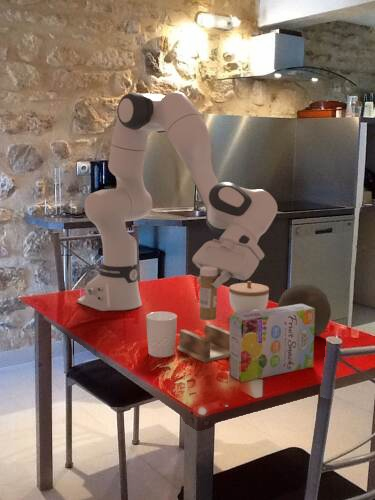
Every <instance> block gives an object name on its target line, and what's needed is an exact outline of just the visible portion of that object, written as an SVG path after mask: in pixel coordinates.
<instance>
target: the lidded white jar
mask: <svg viewBox="0 0 375 500" xmlns="http://www.w3.org/2000/svg"><path fill="white" fill-rule="evenodd" d="M228 291H229V297H228V299H229V304H230V307H231V309H232V311H233V312H234V314H238V313H245V312H251V311H253V310H264V309H267V306H268V303H269V293H270V288H269V286H268V285H264V284H260V283H254V282H252V281H251V280H248V281H247V282H237V283H234V284H233V283H232V284H230V286H229V287H228Z"/></svg>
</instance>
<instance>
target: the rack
mask: <svg viewBox="0 0 375 500" xmlns="http://www.w3.org/2000/svg"><path fill="white" fill-rule="evenodd" d="M204 327H205V328H204V337H203V336H201V335H200V334H199V335H198V334H196V333H193V332H192V331H189V330H187V329H184V328H183V329H180V330H179V345H176V350H178V351H180V352H181V353H184V354H185V355H188V356H190V357H192V358H194V359H196V360H198V361H200V362H201V363H210V362H213V361H216V360H217V361H218V360H222V359H224V358H229V346H230V343H229V341H230V330H229V331H228V330H226V329H224V328H221V327H219V326H216V325H214V324H212V323H208V324H205V325H204Z"/></svg>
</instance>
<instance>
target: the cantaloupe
mask: <svg viewBox="0 0 375 500" xmlns="http://www.w3.org/2000/svg"><path fill="white" fill-rule="evenodd" d="M277 303H278V304H277V307H283V306H290V305H296V304H304V305H307V306H310V307H312V308H315V321H314V338H315V337H318V336H319V335H322V334H323V333H324V332H325V331H326V330H327V329H328V326H329V323H330V320H331V319H330V318H331V316H332V315H331V314H332V311H331V305H330V302H329V300H328V297H327V295H326V294H325V292H323V290H321V289H320V287H317V286H315V285H313V284H295V285H292V286H290V287H288V288H287V289H286V290H285V291H284V292H283V293H282V294H281V296H280V298H279V300H278V302H277Z"/></svg>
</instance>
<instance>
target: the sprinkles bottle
mask: <svg viewBox="0 0 375 500" xmlns="http://www.w3.org/2000/svg"><path fill="white" fill-rule="evenodd" d="M200 275H201V283H199V284H200V286H199V287H200V288H199V316H198V318H199V319H201V320H202V321H215V320H216V319H217V316H218V315H217V303H218V302H217V300H218V298H217V296H218V295H217V294H218V289H216V288H213V287H212V286H211V282H212V281H213V280H214V279H217V278H218V275H219V273H218V268H215V267H212V266H205V267H201V268H199V276H200Z"/></svg>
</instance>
